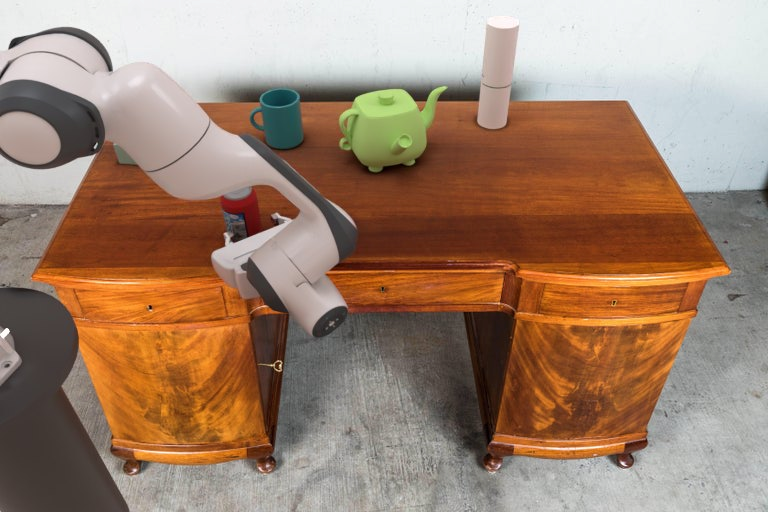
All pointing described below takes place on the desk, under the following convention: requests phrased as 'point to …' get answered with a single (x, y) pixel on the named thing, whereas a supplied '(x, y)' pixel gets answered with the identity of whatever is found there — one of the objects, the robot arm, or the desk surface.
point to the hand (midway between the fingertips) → (250, 225)
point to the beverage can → (241, 213)
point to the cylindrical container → (497, 71)
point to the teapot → (387, 127)
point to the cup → (280, 118)
